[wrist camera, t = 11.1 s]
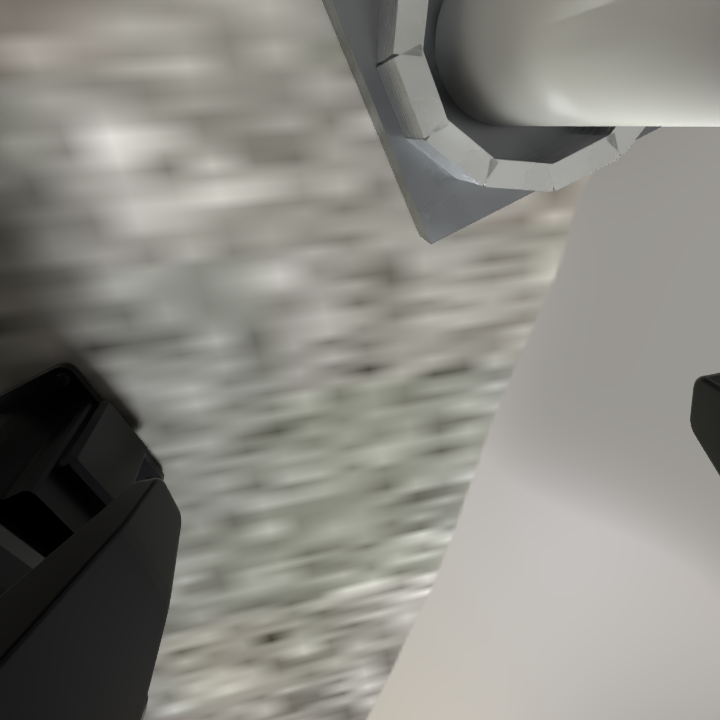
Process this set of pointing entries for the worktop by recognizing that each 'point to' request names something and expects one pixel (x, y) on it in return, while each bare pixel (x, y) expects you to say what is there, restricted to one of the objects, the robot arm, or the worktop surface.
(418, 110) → the duct collar
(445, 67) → the white cylinder
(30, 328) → the worktop surface
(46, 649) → the robot arm
